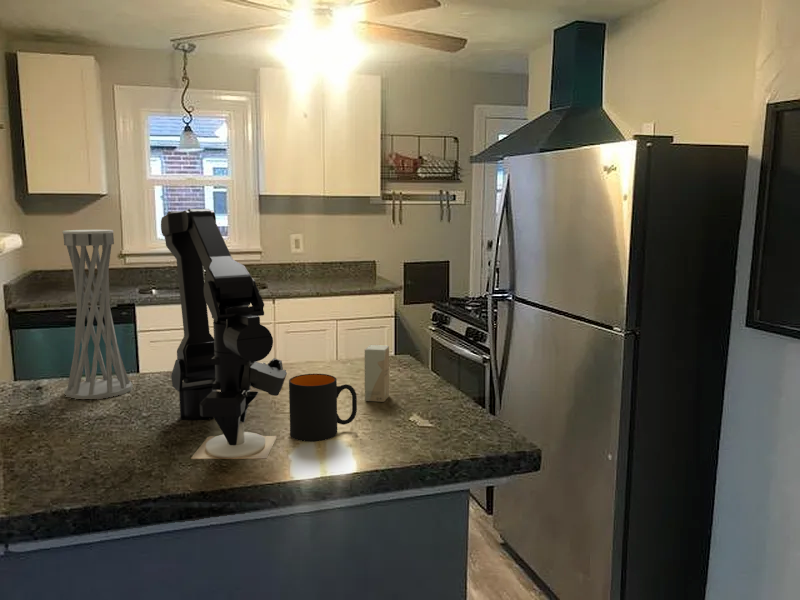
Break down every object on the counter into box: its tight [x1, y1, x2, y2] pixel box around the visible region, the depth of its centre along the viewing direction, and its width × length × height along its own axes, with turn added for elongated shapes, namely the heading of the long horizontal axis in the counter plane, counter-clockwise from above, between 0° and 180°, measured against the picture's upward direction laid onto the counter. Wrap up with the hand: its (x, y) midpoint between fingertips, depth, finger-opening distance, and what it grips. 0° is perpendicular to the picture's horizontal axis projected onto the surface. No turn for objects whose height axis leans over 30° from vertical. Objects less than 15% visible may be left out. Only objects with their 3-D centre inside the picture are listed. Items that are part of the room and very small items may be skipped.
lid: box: [206, 421, 265, 458], centre depth 108 cm, size 10×10×4 cm
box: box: [364, 344, 390, 403], centre depth 137 cm, size 5×4×11 cm
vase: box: [62, 229, 133, 400], centre depth 140 cm, size 14×13×35 cm
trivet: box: [190, 435, 278, 460], centre depth 108 cm, size 12×10×1 cm
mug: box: [288, 373, 358, 443], centre depth 115 cm, size 8×12×10 cm
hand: (235, 440), depth 108 cm, fingers open, 3 cm apart
